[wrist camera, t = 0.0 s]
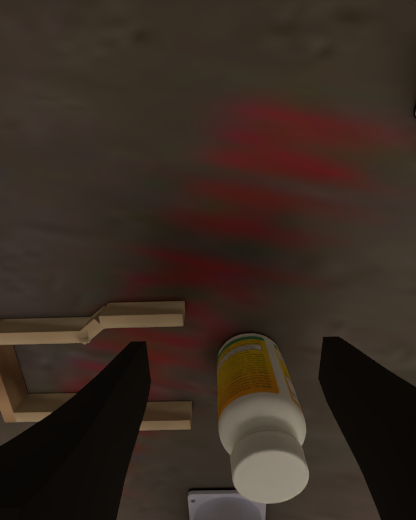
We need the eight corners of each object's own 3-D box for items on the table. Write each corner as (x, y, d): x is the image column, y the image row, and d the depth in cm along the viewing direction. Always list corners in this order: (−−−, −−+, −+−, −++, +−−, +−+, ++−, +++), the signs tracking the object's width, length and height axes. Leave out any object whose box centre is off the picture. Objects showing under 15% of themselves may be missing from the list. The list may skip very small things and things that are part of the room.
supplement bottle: (293, 349, 23) (346, 468, 14) (256, 392, 25) (282, 525, 16) (239, 319, 22) (259, 426, 13) (204, 365, 24) (200, 490, 15)
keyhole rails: (192, 409, 25) (190, 429, 24) (23, 413, 26) (8, 432, 24) (184, 300, 22) (182, 313, 20) (-12, 306, 22) (-33, 319, 20)
